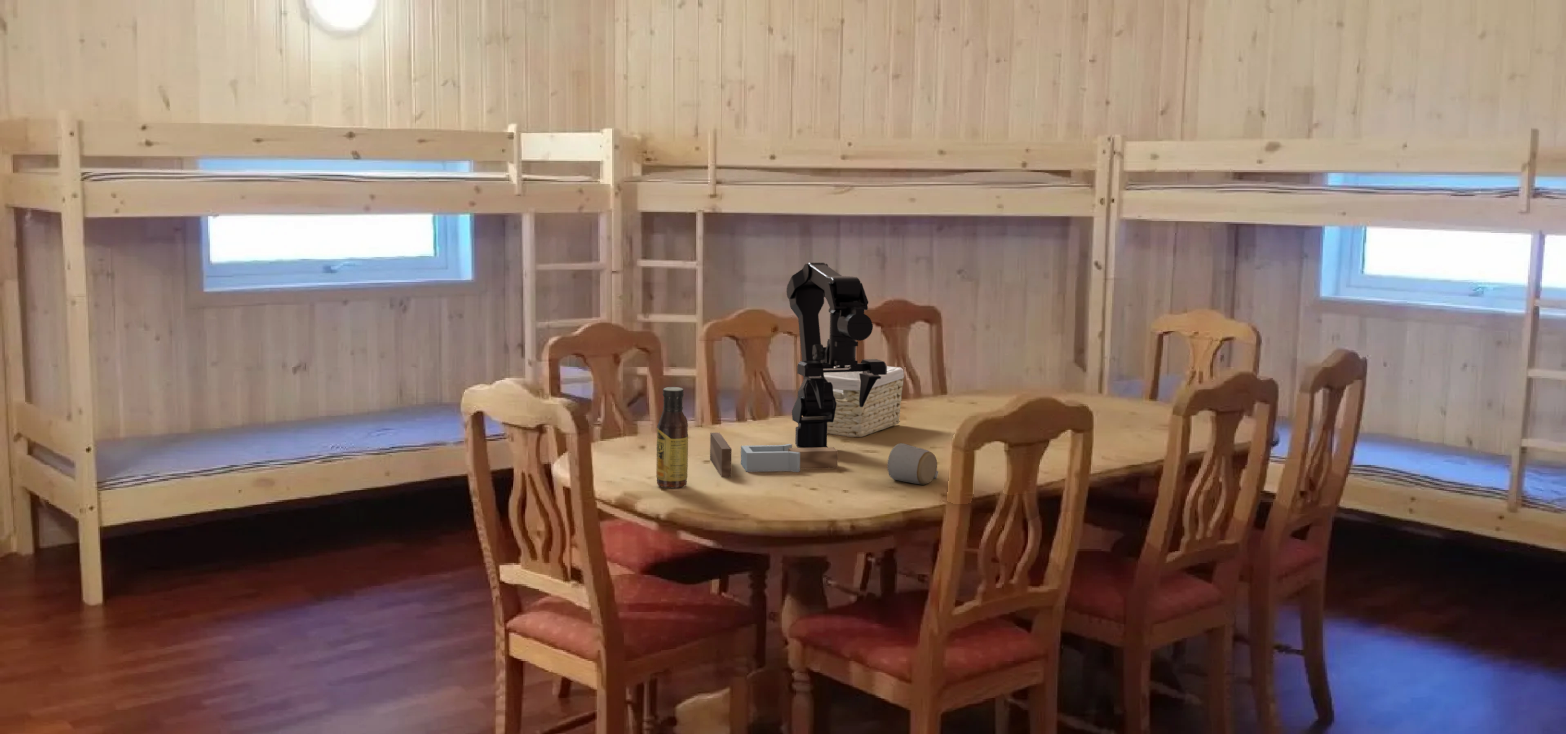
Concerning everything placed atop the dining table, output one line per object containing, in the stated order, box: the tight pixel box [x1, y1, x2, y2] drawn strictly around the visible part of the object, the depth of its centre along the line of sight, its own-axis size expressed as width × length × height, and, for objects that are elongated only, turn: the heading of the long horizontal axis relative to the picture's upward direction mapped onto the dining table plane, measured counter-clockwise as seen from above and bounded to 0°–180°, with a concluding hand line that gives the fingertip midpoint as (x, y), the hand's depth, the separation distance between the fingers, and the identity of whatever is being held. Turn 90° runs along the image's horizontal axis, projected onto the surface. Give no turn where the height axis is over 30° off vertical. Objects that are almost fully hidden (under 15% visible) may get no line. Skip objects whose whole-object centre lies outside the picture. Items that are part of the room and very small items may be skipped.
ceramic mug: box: [887, 442, 939, 486], centre depth 298 cm, size 11×8×8 cm
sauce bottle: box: [655, 386, 689, 489], centre depth 288 cm, size 7×6×20 cm
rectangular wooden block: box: [788, 446, 839, 470], centre depth 310 cm, size 10×4×4 cm, turn 101°
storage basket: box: [824, 365, 905, 438], centre depth 355 cm, size 24×16×15 cm
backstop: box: [709, 432, 733, 478], centre depth 306 cm, size 2×18×6 cm, turn 10°
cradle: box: [740, 443, 801, 473], centre depth 308 cm, size 11×11×4 cm
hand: (841, 407), depth 311 cm, fingers open, 9 cm apart
